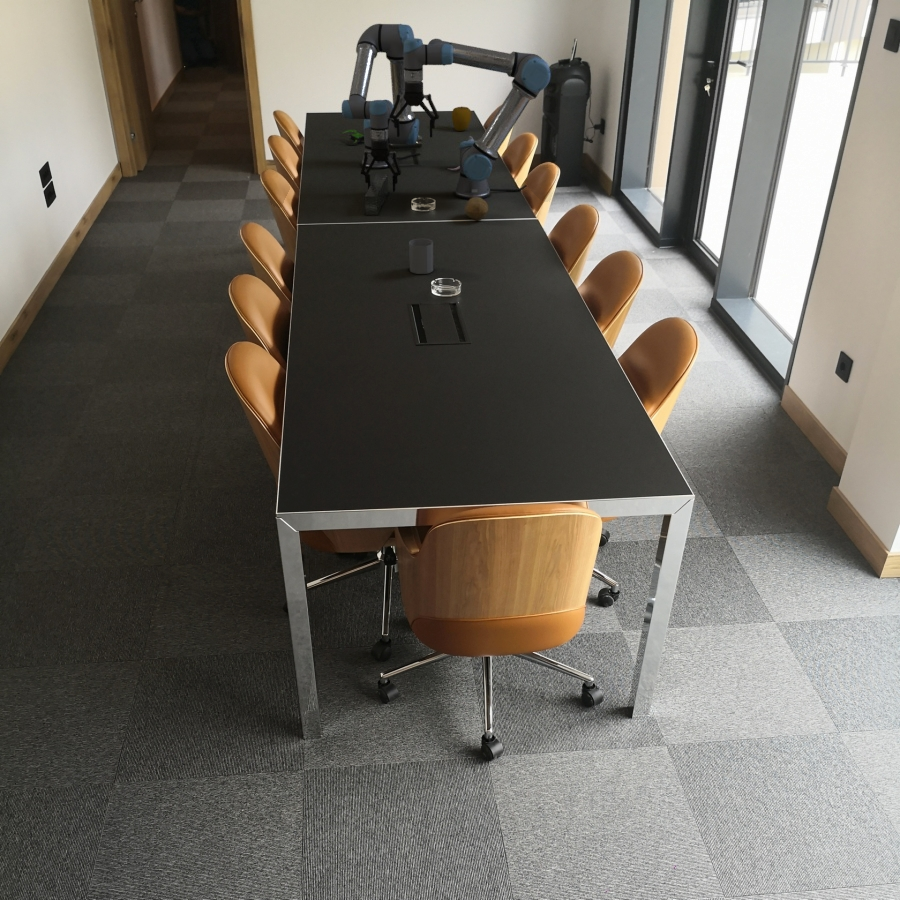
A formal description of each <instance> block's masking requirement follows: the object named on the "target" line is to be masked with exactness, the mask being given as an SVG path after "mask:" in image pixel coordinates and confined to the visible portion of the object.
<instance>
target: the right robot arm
mask: <svg viewBox="0 0 900 900" xmlns="http://www.w3.org/2000/svg"><path fill="white" fill-rule="evenodd" d="M403 52H404V80H405V81H406V82H405V83H404V88H405V93H404V95H402V94H400V93H398V95H397V100H396V103H395V105H394V107H393V109H392V112H391V114H390V116H389V117H390V118H392V119H394V127H395V128H397V137H399V136H400V126H399V119H397V118H398V117H399V116H400V114H401V113H402V112H403V110H404V109H405V108H406V107H407V105H409V106H411V107H419V106H420V108H422V110H423V111H424V112H425V114H426V115H427V117H429V118H430V120H429V138H433V129H435V127H436V121H437V120H439V118H440V114H439V112H438V110H437V108H436V105H435V103H434V101H433V99H432V94H431V93H428V94H424V82H423V81H424V66H444V67H445V66H450V65H452V64H456V65H460V66H466V67H472V68H475V69H476V68H477V69H481V70H487V71H492V72H498V73H503V74H507V76H508V77H509V78H513V79H512V81H511V86H512V88H511V90H510V91H509V93H508V94H507V96H506V98H505V99H504V101H503V103H502V104H501V106H500V108H499V109H498V110H497V112H496V113H495V115H494V117H493V118H492V120H491V121H490V123H489V125H488V126H487V127H486V128H487V129H486V130H485V132H484V133H483V134H482V136H481V137H480V140H479V139H477V140H474V141H468V140H464V141H461V142H460V144H459V166H460V169H459V178H458V181H457V185H456V188H455V196H456V197H457V198H460V199H465V200H470V199H471V198H473V197H479V198H482V199H486V198H488V197H490V195H491V192H520V191H522V190H524V189H525V188H527V187H528V185H527V184H524V185H523V186H522V187H520V188H510V189H509V188H490V186H489V183H488V178H489V177H490V175H491V173H492V170H493V166H494V165H495V163H496V161H497V159H498V157H499V156H498V151H499V150H500V148H501V146H502V145H503V143H504V141H505V140H507V137H508V136H509V134H510V133H511V131H512V129H513V128H514V126H515V124H516V123H517V121H518V120H519V118H520V117H521V115H522V114H523V112H524V111H525V109H526V107H527V105H528V104H529V103H530V101H532V100H535V99H536V98H537V97H538V95H539V94H540V93H541V91H543V90H544V89H545V88H546V87H547V86H548V85H549V83H550V81H551V69H550V67H549V66H550V65H549V64H548V63H547V61H545V59H543V58H542V57H541V56H540V55H538V54H535V53H529V52H518V51H511V52H504V51H499V50H494V49H488V48H482V47H477V46H471V45H467V44H461V43H457V42H453V41H451V42H450V41H445V40H442V39H441V38H433V39H431V40H429V42H428V43H427V44H425V43H423V39H421V38H418V37H417V38H416V37H414V38H410V39H406V40H405V41H404V51H403ZM402 98H404V99H405V101H406V103H405V104H404V105H403V106H402V108H401V109H400V110H399V112H398V113H397V114H396V115H394V113H395V110H396V108H397V106H398V104H399V101H400V100H402ZM424 100H426V101H427V102H428V105H429V107H430V109H431V110H430V109H429V108H428V106H427V105H426V104H425V103H424Z"/></svg>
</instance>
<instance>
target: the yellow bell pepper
mask: <svg viewBox="0 0 900 900" xmlns="http://www.w3.org/2000/svg"><path fill="white" fill-rule="evenodd" d="M451 121H452V125H453V128H454V129H455V131H457V132H463V131H466V130H467V129H468V128H469V126H470V124H471V121H472V111H471V108H469V107H467V106H462V105H461V106H457V107H454V108H452V111H451Z"/></svg>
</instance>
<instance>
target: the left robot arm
mask: <svg viewBox="0 0 900 900" xmlns="http://www.w3.org/2000/svg"><path fill="white" fill-rule="evenodd" d="M410 38H415V34H414V30H413V28H412V27H411V25H409V24H403V23H375V24H372V25H369V27H367V28H366V29H365V30H364V31H363V32H362V34H361V35H360V37H359V38H358V40H357V43H356V48H355V53H356V58H355V59H356V60H355V65H354V71H353V76H352V80H351V86H350V90H349V95H348V99H344V100H343V101H341V114H342V117H343V118H345V119H349V120H350V119H351V120H363V134H364V141H363V142H364V151H363V155H362V159H361V166H362V167H361V170H360V174H361V175H363V176H364V182H365V184H367V190H368V189H369V188H370V186H371V174H369V173H370V172H371V170H381V169H387V168H389V170H390V172H391V173H392V176H391V177H392V193H395V192H396V185H397V184H398V177H399V176H401V175H402V169H401V167H400V166H401V165H400V164H399V161H398V160H403V159H407V158H409V157H410V158H411V157H415V156H420V155H421V153H420V152H418V153H412V154H408V155H404V156H401V157H397V151H391V150H390V147H389V145H403V146H404V145H405V146H408V145H409V146H410V145H411V146H412V145H415V144H416V143H417V141H418V138H419V130H420V120H419V119H418V118H416V114H415V113H414V112H413V110H412V106H409V105H407V107H406V108H405V109H404V110H403V112H402V113H401V114H400V116H399V117H398V118H397V119H399V126H400V136H399V137H397V128H395V127H394V119H392V118H390V117H389V116H390V114H391V112H392V109H393V107H394V105H395V103H396V100H397V95H398V93H400V94H402V95H404V93H405V88H404V83H405V82H406V81H405V80H404V52H403V51H404V41H405V40H406V39H410ZM378 53H385V57H386V59H387V60H388V61H389V70H390V81H391V82H390V83H391V95H392V96H391V97H392V102H391V101H390V100H389V99H374V100H367V98H368V93H369V89H370V88H369V86H370V82H371V76H372V71H373V66H374V61H375V59H376V58H377V56H378ZM405 103H406V101H405V99H404V98H402V100H400V101H399V104H398V106H397V108H396V110H395V113H394V115H396V114H397V113H398V112H399V110H400V109H401V108H402V106H403V105H404V104H405ZM365 170H366V171H365Z"/></svg>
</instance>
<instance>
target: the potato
mask: <svg viewBox="0 0 900 900" xmlns="http://www.w3.org/2000/svg"><path fill="white" fill-rule="evenodd" d="M488 211H489V205H488V203H487V201H485V199H484V198H479V197H473V198H471V199H468V201H467V202H466V204H465V207H464V212H465V214H466V215H467V217H468V218H471V219H472V220H482V219H483V218H484V217H486V216H487V214H488Z"/></svg>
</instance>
